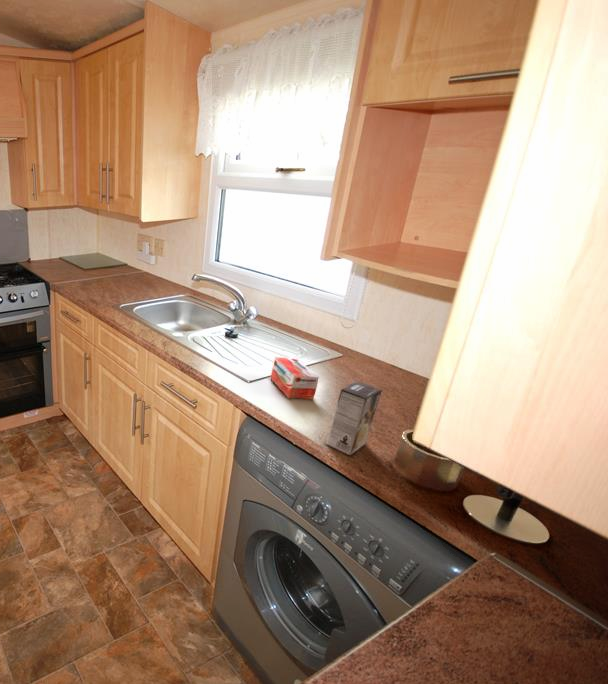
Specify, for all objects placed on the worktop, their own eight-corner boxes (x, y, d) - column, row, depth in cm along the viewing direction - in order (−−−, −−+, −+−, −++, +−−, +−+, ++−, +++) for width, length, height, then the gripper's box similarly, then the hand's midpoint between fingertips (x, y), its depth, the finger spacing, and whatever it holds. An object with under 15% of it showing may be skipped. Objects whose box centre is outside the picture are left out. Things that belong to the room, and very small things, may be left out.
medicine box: (314, 400, 141) (320, 376, 138) (288, 399, 140) (294, 375, 137) (292, 379, 155) (297, 357, 152) (268, 378, 154) (273, 356, 152)
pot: (455, 473, 109) (467, 442, 106) (456, 500, 99) (470, 468, 96) (394, 453, 115) (404, 423, 112) (390, 476, 106) (400, 445, 103)
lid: (540, 518, 95) (554, 492, 93) (553, 558, 85) (568, 530, 82) (460, 490, 102) (471, 466, 100) (463, 524, 92) (474, 497, 90)
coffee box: (340, 433, 123) (356, 379, 117) (365, 444, 118) (383, 389, 113) (325, 444, 117) (340, 388, 111) (350, 456, 113) (368, 398, 107)
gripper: (555, 439, 79) (518, 513, 85) (593, 425, 85) (555, 495, 91) (505, 418, 85) (473, 487, 91) (543, 406, 91) (511, 473, 97)
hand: (514, 491), depth 91 cm, fingers open, 8 cm apart
